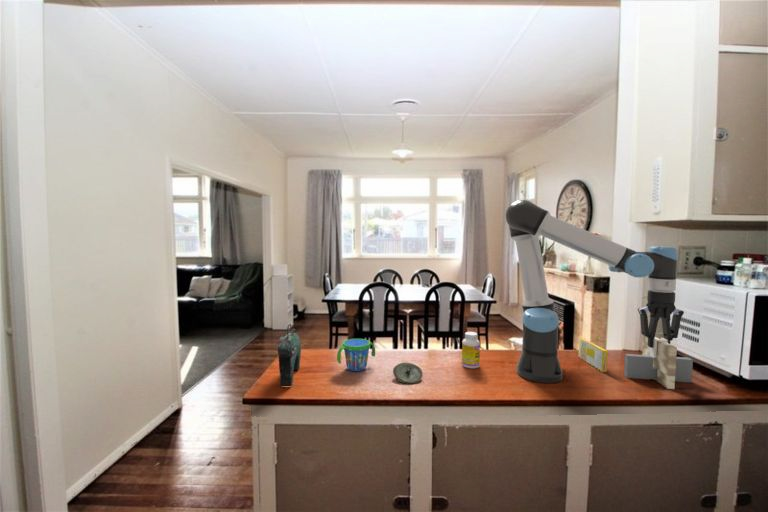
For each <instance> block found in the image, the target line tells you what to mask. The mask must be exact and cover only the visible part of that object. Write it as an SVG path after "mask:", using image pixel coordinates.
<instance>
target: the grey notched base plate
mask: <svg viewBox="0 0 768 512" xmlns="http://www.w3.org/2000/svg"><path fill="white" fill-rule="evenodd" d="M693 363H694V359H692V358H691V357H681V356H676V371H675V382H682V383H692V382H693V368H694V367H693V365H694V364H693ZM657 371H658V369H657V368H655V367H653V357H652V356H650V355H642V354H634V353H633V354H632V353H630V354H629V353H625V354H624V370H623V373H624V374H623V376H624V377H625V376H626V377H627V379H636V380H637V379H639V380H650V379H653V380H654V381H657ZM626 377H625V378H626ZM653 380H652V381H653Z"/></svg>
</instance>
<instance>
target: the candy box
mask: <svg viewBox="0 0 768 512" xmlns="http://www.w3.org/2000/svg"><path fill="white" fill-rule="evenodd" d="M578 343H579V344H578V358H579V357H580V358H579V359H581V360H582V359H583V360H582V361H584V362H585V361H586V362H585V363H587V364H589V365H590V364H591V365H590V366H592V367H593V366H594V368H595V369H596V368H597V369H596V370H598V371H599V370H600V372H601V373H607V369H608V357H609V355H608V354H609V351H608V350H606V348H604V347H601V346H599V345H598V344H596V343H593V342H592V341H589V340H587V339H586V338H584V337H579V342H578Z"/></svg>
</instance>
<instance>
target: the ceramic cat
mask: <svg viewBox="0 0 768 512" xmlns="http://www.w3.org/2000/svg"><path fill="white" fill-rule="evenodd" d="M291 327H292V324H291V323H290V324H288V325H287V328H286V335H285V336H284V335H282V336H280V337H279V339H278V343H277V355H278V367H279V368H278V369H279V378H280V379H279V382H280V387H281V386H291V385H292V386H293V384H292V383H294V371H293V370H297V369H299V370H300V365H301V363H300V362H301V354H302V344H301V340H300V339H301V338H300V336H299V334H298V333H297V329H295V328H293V329H292V330H291V332H289V328H291ZM297 371H298V370H297Z"/></svg>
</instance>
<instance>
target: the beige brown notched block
mask: <svg viewBox="0 0 768 512" xmlns="http://www.w3.org/2000/svg"><path fill="white" fill-rule="evenodd" d="M655 339H657V354H656V358H653V367H655V368H657V369H658V371H657V380H656V382H658V383H659V384H660V385H661V386H663V387H664V388H666V389H669V390H675V385H676V381H675V371H676V357H677V352H678V350H677V349H678V347H676V346H675V345H672V344H671V343H670V344H669V343H667V342H665V341H663V340H661V338H659V337H657V336H655ZM647 343H648V338H647V337H646V336H644V335H642V349H641V350H642V351H641V352H642V354H641V355H650V347H648V345H647Z"/></svg>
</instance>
